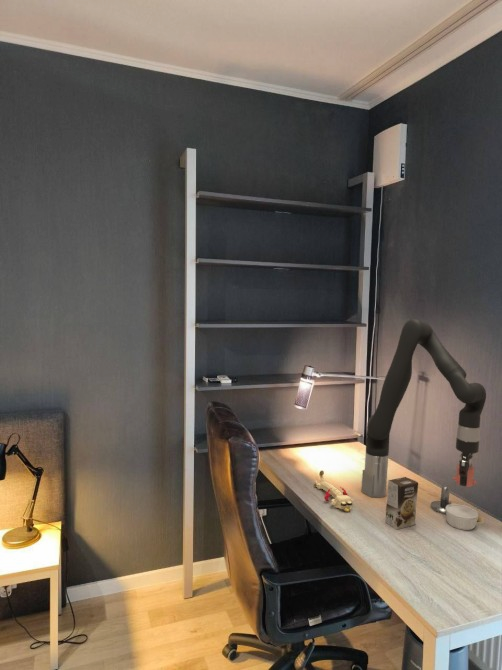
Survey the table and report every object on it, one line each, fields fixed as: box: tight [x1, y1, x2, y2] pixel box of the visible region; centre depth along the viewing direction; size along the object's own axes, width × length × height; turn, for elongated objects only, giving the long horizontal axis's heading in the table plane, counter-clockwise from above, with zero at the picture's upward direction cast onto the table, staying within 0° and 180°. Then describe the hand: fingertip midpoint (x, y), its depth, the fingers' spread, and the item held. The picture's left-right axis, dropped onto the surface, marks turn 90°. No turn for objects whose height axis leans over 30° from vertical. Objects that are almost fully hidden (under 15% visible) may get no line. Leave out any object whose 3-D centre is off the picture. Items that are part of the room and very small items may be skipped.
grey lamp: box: [430, 484, 453, 515], centre depth 182 cm, size 10×10×9 cm
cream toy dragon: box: [313, 470, 355, 512], centre depth 188 cm, size 10×9×25 cm
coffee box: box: [384, 476, 419, 530], centre depth 169 cm, size 9×6×16 cm
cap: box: [452, 464, 477, 488], centre depth 170 cm, size 8×6×6 cm
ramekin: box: [445, 503, 479, 531], centre depth 171 cm, size 11×11×5 cm
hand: (464, 482), depth 170 cm, fingers closed on cap, 5 cm apart
